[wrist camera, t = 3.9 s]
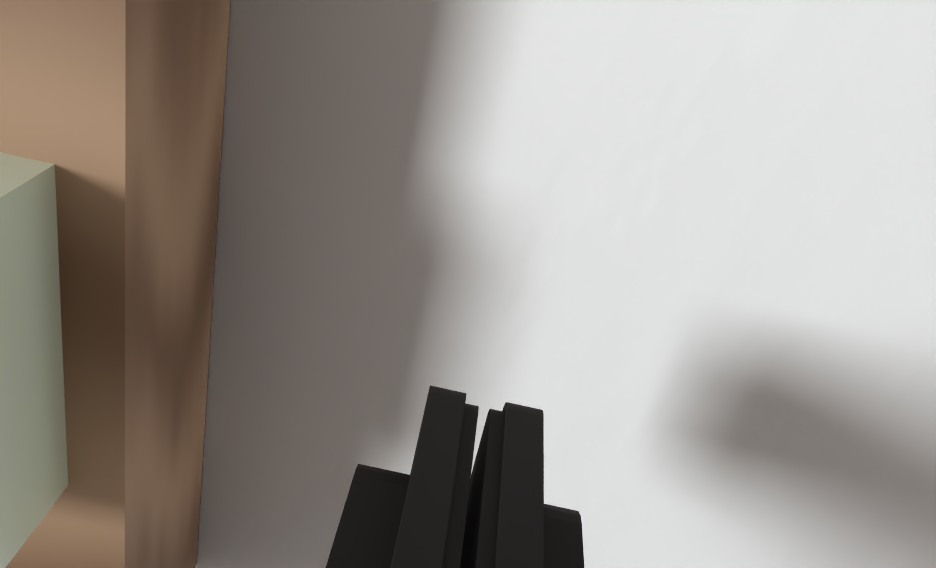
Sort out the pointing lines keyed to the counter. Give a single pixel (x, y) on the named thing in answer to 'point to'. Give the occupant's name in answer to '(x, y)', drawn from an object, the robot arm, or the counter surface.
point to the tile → (29, 352)
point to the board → (125, 258)
